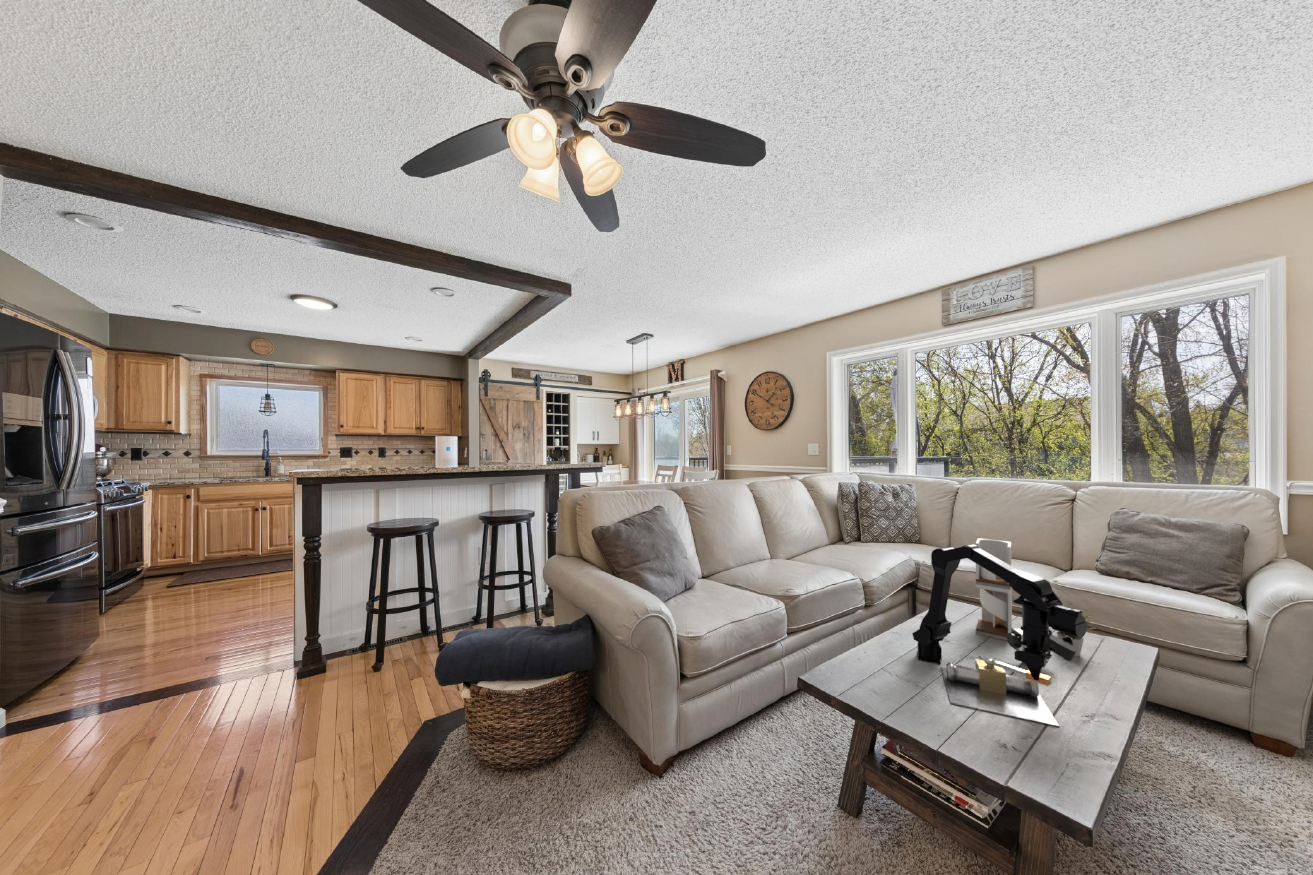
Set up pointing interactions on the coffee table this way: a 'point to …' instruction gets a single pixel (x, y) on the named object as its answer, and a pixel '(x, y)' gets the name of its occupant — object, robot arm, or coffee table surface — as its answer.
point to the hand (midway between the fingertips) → (1036, 679)
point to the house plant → (1076, 640)
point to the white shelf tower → (994, 592)
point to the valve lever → (1019, 671)
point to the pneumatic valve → (1016, 639)
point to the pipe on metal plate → (996, 692)
